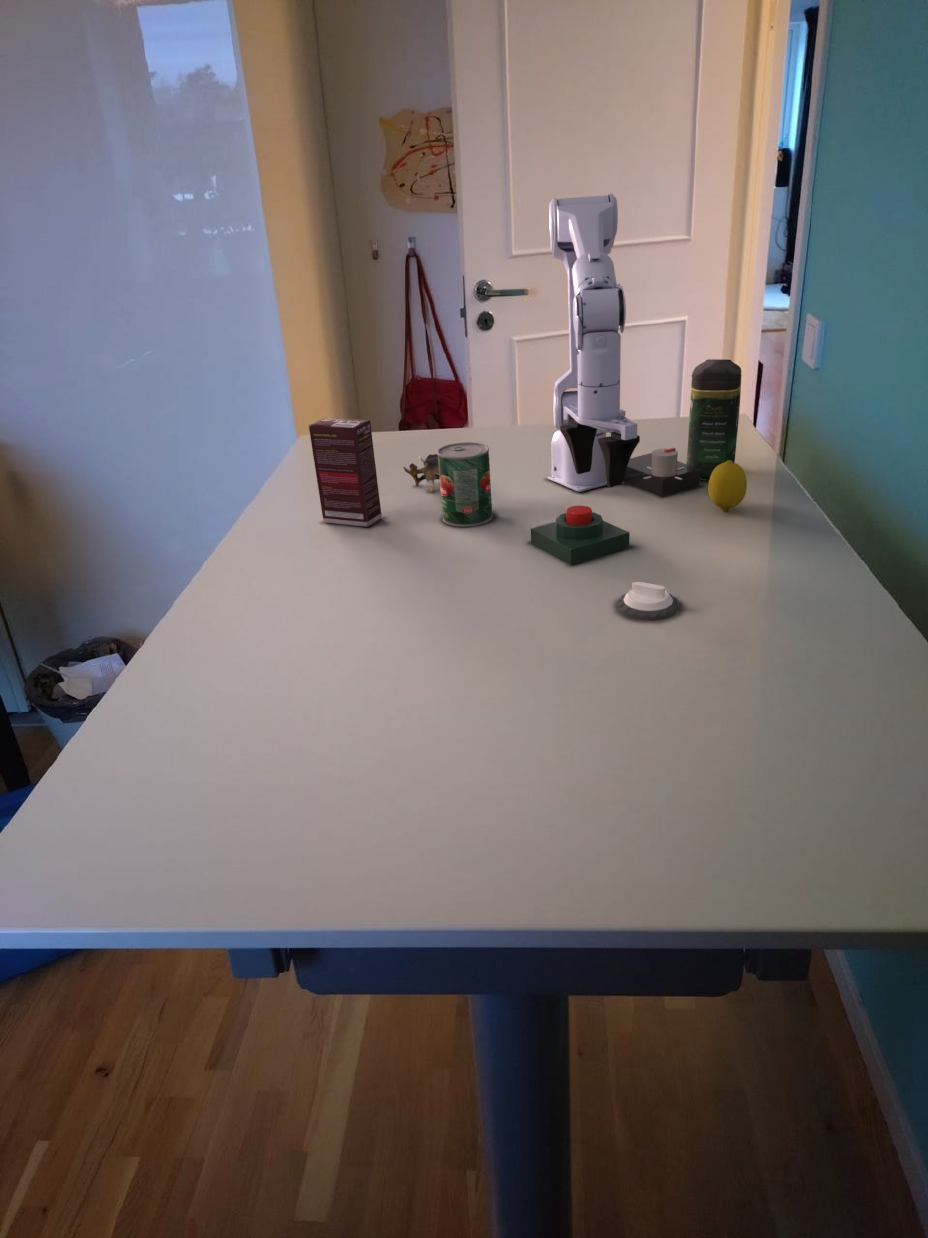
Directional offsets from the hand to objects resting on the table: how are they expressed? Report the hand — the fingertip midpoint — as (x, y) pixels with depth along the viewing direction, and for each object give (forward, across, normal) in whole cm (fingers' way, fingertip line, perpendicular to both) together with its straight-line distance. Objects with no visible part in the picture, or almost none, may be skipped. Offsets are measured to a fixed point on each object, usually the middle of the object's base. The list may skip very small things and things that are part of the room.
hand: (598, 478), depth 128 cm
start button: (+5, -2, +5) cm, 7 cm away
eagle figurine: (+8, +34, +10) cm, 36 cm away
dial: (+5, +8, -19) cm, 21 cm away
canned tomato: (+8, +18, +12) cm, 23 cm away
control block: (+8, -2, +5) cm, 10 cm away
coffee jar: (+8, +11, -31) cm, 34 cm away
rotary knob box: (+8, +11, -20) cm, 24 cm away
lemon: (+8, -5, -20) cm, 22 cm away
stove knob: (+9, -23, +9) cm, 26 cm away
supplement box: (+8, +28, +28) cm, 41 cm away
